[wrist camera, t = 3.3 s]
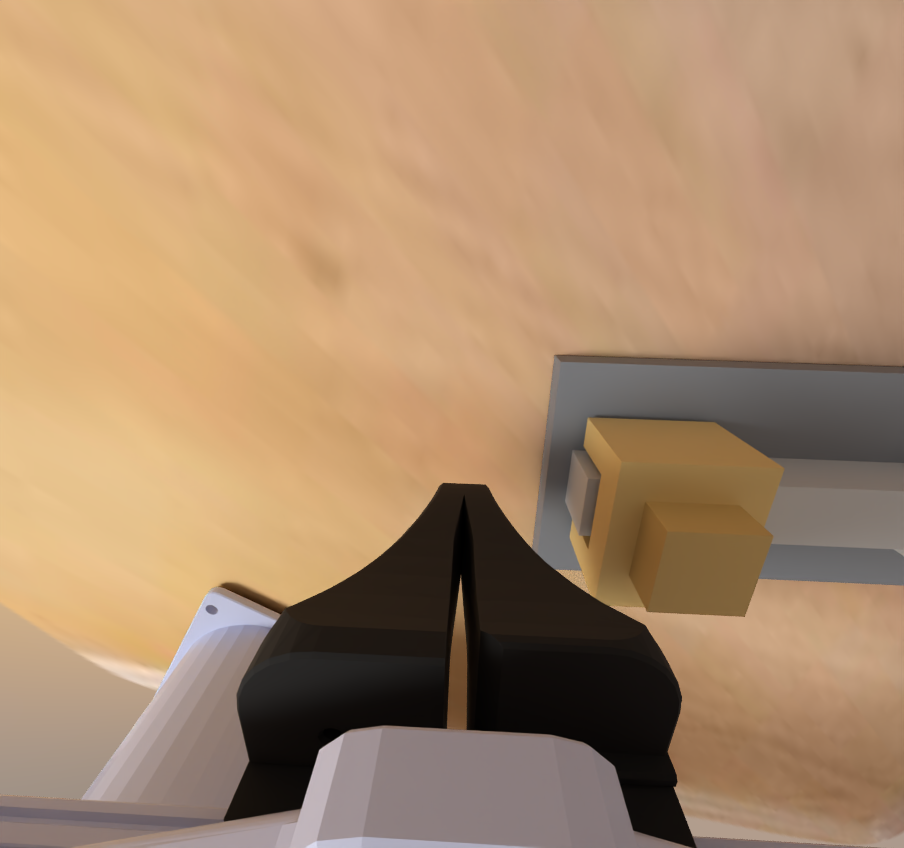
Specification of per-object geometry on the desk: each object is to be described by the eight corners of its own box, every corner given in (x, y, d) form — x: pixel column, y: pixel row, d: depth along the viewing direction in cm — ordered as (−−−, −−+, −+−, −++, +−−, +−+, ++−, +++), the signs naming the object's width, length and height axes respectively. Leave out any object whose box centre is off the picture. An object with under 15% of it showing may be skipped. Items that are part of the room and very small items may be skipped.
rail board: (531, 551, 17) (555, 661, 12) (554, 355, 14) (597, 402, 9) (887, 567, 17) (1049, 686, 12) (985, 369, 14) (1248, 425, 9)
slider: (569, 537, 15) (607, 642, 11) (587, 417, 14) (641, 487, 9) (682, 542, 15) (764, 650, 11) (714, 422, 13) (826, 495, 9)
